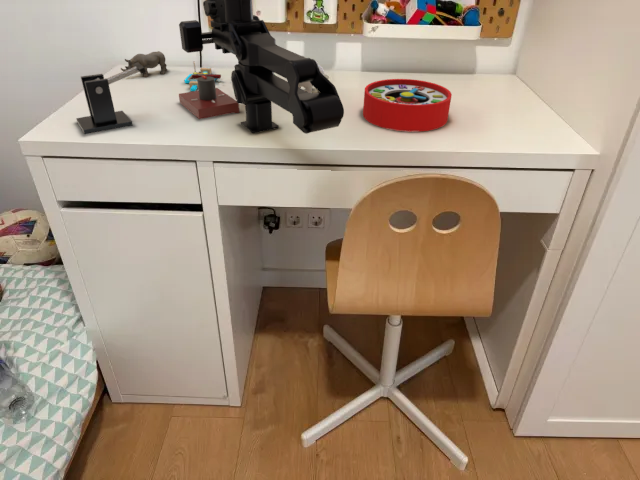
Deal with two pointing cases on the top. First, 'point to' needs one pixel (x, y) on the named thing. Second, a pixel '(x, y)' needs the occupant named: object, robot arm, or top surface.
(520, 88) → the top surface
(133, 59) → the rhino figurine
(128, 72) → the lever
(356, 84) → the top surface
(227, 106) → the dial panel
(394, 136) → the top surface
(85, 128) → the lever bracket
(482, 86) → the top surface
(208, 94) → the timer dial
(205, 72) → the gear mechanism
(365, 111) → the toy clock
